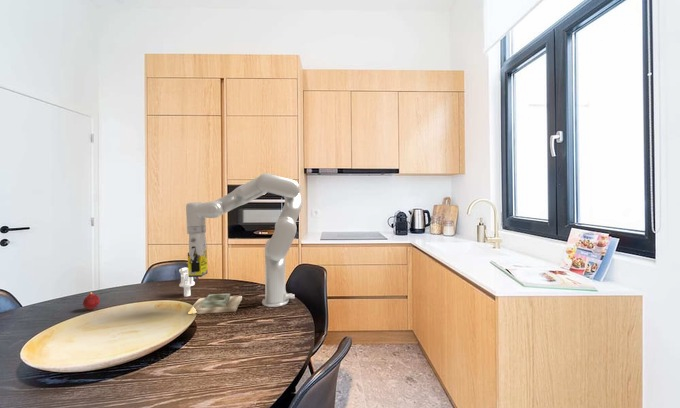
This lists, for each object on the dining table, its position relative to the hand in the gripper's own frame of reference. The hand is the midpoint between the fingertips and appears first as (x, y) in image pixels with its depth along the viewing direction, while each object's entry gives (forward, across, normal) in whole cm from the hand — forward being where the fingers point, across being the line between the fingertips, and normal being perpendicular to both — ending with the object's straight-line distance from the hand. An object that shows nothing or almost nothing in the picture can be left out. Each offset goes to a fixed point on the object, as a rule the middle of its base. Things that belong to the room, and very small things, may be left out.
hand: (198, 269), depth 127 cm
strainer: (+19, +23, +13) cm, 32 cm away
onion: (+18, +10, +49) cm, 53 cm away
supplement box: (+3, 0, 0) cm, 3 cm away
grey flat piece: (+19, +4, -6) cm, 21 cm away
